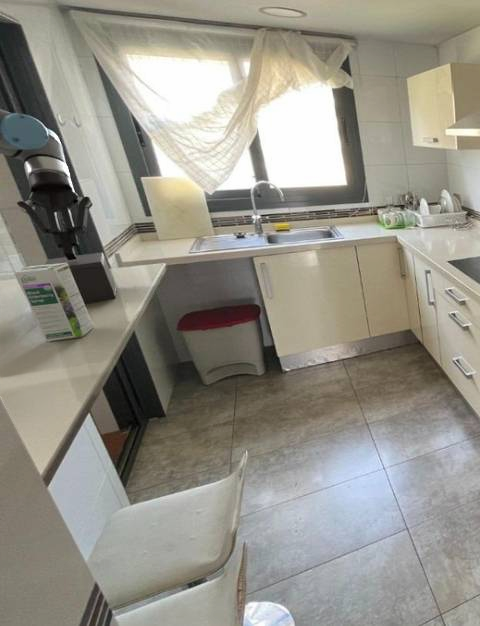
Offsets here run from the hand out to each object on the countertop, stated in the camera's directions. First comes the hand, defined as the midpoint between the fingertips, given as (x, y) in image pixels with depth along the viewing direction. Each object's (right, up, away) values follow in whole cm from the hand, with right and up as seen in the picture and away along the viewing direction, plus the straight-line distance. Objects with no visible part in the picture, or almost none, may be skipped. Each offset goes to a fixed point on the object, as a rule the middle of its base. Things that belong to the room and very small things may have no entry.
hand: (70, 256), depth 110 cm
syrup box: (+17, -18, -16) cm, 30 cm away
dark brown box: (-1, -10, +6) cm, 11 cm away
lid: (-1, -2, +2) cm, 3 cm away
